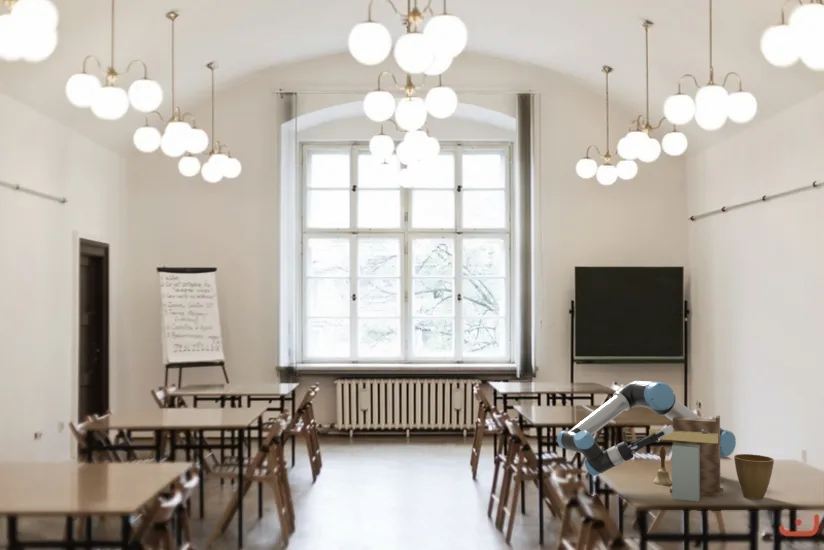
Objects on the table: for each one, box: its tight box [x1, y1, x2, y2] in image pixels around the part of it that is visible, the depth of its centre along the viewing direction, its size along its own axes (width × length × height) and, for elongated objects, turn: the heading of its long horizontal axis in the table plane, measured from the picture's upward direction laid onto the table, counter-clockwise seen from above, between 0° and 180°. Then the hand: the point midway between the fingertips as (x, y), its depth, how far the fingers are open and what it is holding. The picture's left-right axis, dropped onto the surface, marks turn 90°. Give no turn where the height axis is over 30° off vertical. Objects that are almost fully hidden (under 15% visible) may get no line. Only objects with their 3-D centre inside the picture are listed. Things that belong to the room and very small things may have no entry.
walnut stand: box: [669, 415, 724, 498], centre depth 331 cm, size 20×12×32 cm, turn 66°
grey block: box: [671, 443, 701, 502], centre depth 319 cm, size 10×7×21 cm
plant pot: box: [733, 453, 775, 500], centre depth 322 cm, size 15×15×16 cm
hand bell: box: [652, 445, 672, 486], centre depth 347 cm, size 8×8×16 cm
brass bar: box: [648, 428, 718, 443], centre depth 320 cm, size 26×4×5 cm, turn 66°
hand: (671, 428), depth 322 cm, fingers closed on brass bar, 3 cm apart
